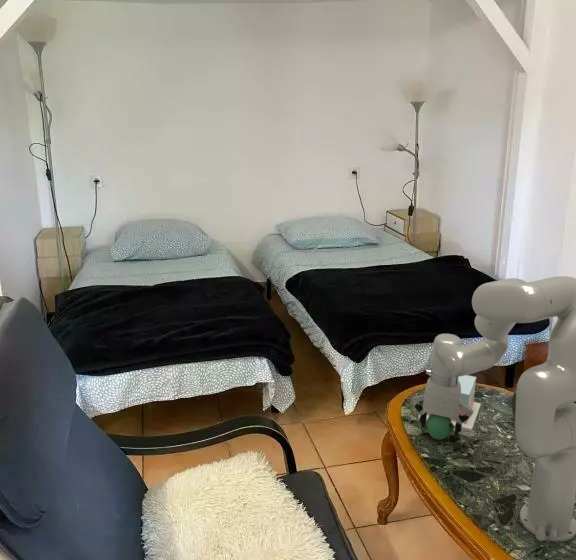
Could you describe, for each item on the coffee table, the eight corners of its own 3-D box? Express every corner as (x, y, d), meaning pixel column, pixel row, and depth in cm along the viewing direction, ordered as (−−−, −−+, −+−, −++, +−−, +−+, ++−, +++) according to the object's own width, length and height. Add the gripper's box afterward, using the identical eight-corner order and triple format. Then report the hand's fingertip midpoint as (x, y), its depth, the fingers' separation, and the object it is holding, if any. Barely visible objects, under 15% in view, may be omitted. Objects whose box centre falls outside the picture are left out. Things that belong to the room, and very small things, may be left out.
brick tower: (471, 431, 179) (475, 399, 175) (418, 419, 185) (420, 387, 182) (480, 406, 192) (483, 375, 188) (430, 395, 199) (432, 365, 195)
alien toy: (455, 444, 173) (458, 414, 169) (428, 444, 173) (430, 414, 169) (449, 430, 179) (452, 401, 176) (423, 430, 179) (426, 401, 176)
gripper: (411, 376, 170) (407, 428, 175) (474, 389, 163) (468, 443, 168) (417, 365, 176) (414, 416, 182) (478, 377, 169) (472, 429, 175)
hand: (439, 429), depth 175 cm, fingers open, 9 cm apart
